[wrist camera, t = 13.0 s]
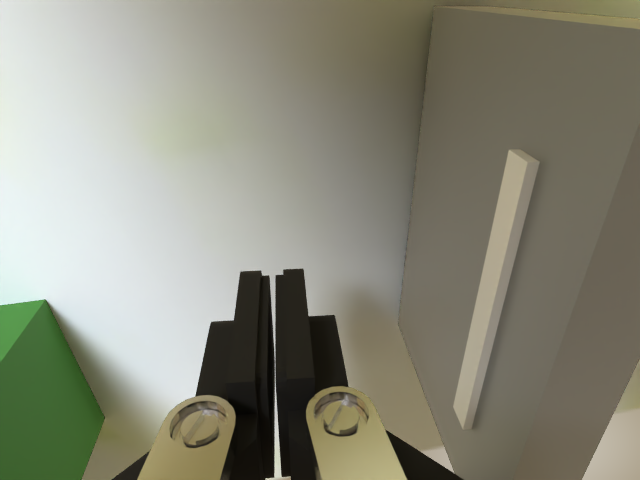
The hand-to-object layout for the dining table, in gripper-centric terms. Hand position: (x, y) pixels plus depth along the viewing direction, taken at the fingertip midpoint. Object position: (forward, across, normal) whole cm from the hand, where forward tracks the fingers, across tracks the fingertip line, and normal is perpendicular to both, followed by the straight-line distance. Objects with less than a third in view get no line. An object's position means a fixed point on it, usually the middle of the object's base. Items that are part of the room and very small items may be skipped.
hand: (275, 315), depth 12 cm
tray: (+6, -15, -1) cm, 16 cm away
